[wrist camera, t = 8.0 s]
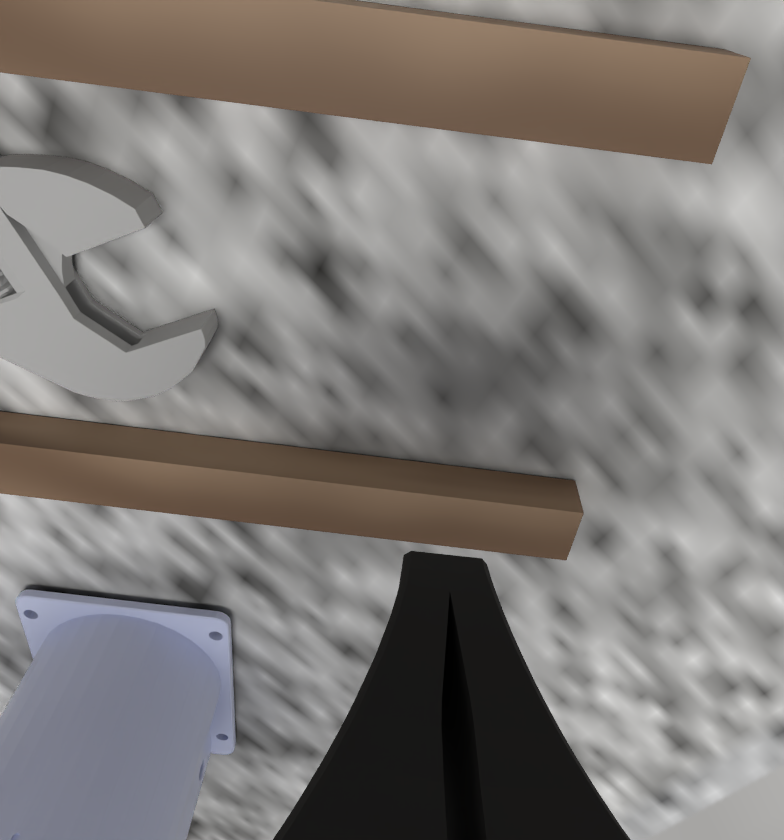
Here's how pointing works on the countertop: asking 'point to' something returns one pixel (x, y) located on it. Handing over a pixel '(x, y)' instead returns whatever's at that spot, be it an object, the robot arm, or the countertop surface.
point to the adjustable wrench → (80, 283)
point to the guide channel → (372, 100)
